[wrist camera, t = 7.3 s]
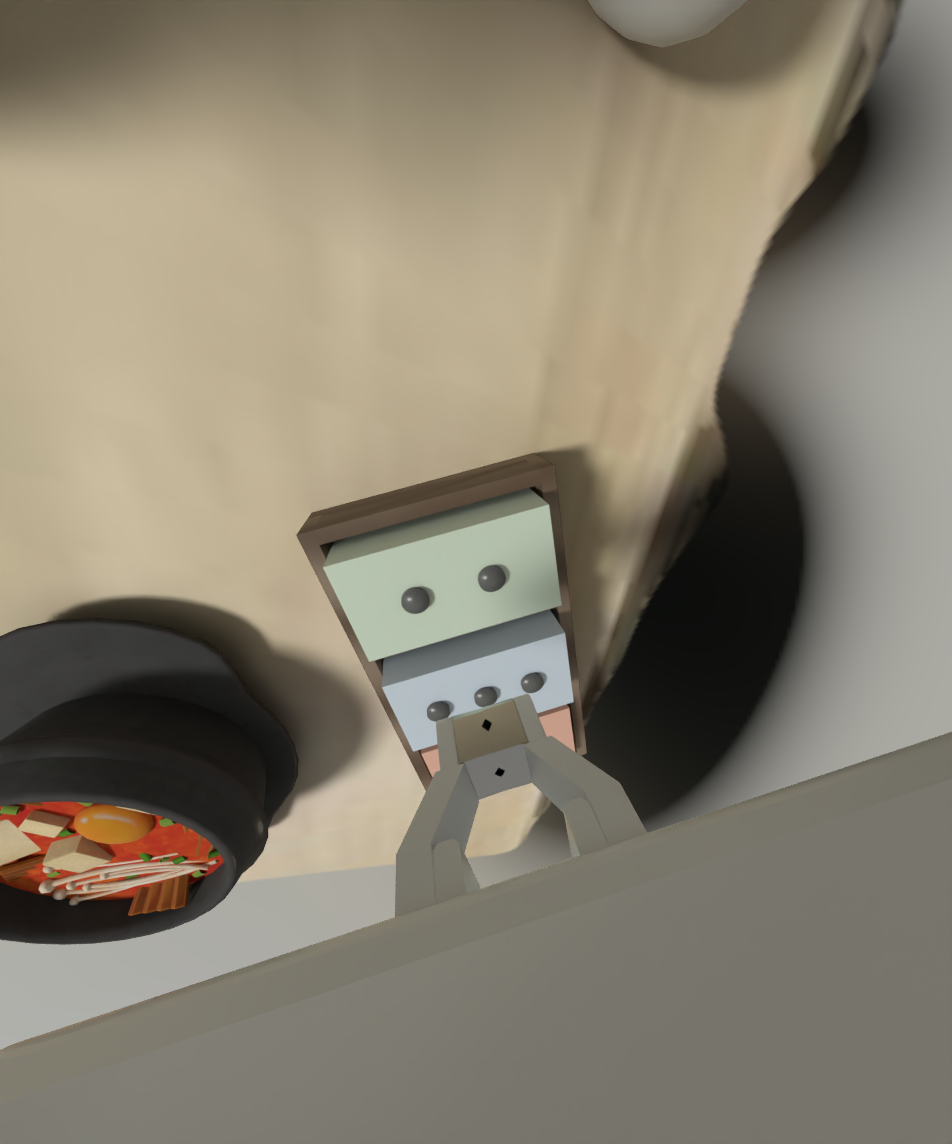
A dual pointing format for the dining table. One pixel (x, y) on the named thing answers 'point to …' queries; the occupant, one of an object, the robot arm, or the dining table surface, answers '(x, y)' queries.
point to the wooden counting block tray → (432, 500)
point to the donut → (664, 18)
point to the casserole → (127, 780)
